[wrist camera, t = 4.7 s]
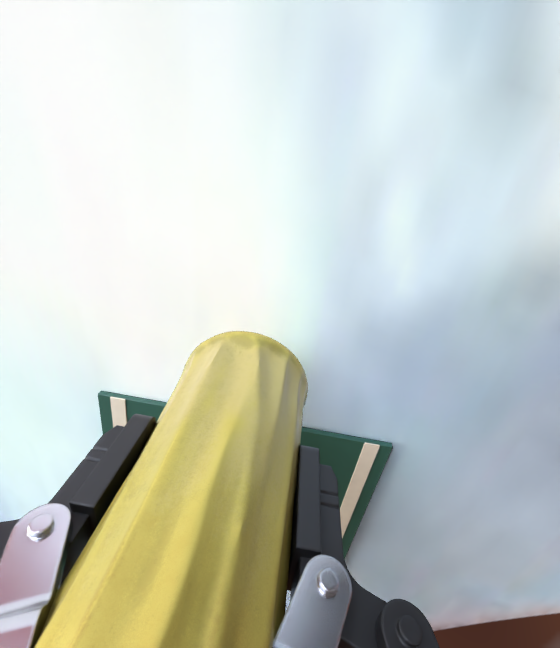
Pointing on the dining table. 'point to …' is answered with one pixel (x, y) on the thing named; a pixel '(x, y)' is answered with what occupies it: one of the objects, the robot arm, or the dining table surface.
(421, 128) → the dining table surface
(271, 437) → the vase
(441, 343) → the dining table surface
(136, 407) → the green board
